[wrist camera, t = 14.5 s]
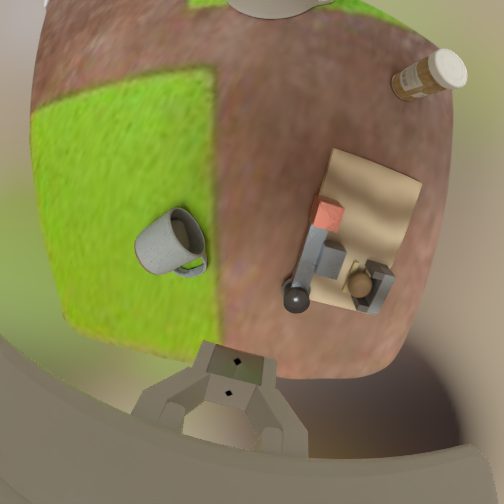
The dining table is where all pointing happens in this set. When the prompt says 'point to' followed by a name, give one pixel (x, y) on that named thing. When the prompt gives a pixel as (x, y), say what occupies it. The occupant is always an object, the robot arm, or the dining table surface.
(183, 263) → the ceramic mug
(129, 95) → the dining table surface
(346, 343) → the dining table surface
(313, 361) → the dining table surface
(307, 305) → the lever
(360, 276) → the brown ball
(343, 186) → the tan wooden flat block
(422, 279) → the dining table surface
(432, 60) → the sprinkles bottle
